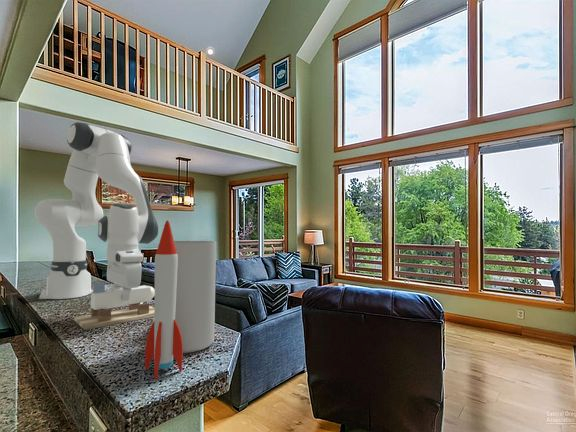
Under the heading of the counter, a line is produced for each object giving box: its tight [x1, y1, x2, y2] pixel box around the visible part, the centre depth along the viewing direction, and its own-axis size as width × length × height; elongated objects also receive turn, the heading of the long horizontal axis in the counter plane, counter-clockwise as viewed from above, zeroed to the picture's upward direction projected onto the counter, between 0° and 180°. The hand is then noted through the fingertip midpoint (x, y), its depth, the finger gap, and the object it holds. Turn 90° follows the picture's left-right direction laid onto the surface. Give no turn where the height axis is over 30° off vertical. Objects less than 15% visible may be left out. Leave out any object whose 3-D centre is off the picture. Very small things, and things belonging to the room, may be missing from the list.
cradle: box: [73, 302, 154, 331], centre depth 99 cm, size 12×22×4 cm, turn 135°
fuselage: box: [90, 281, 155, 310], centre depth 100 cm, size 4×18×8 cm, turn 135°
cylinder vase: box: [174, 240, 217, 354], centre depth 78 cm, size 12×12×25 cm
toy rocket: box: [144, 220, 184, 380], centre depth 64 cm, size 6×6×30 cm
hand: (121, 298), depth 99 cm, fingers closed on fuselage, 4 cm apart
